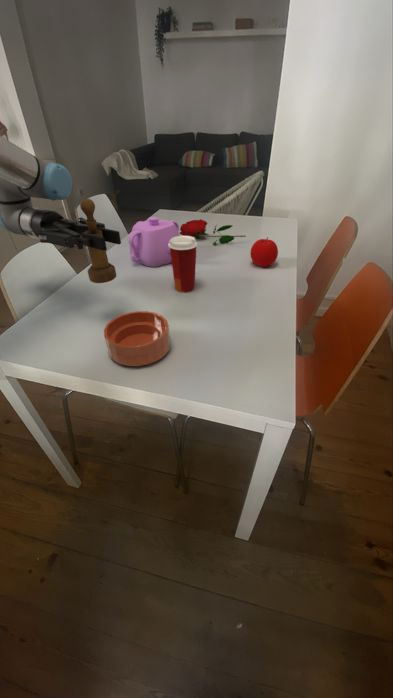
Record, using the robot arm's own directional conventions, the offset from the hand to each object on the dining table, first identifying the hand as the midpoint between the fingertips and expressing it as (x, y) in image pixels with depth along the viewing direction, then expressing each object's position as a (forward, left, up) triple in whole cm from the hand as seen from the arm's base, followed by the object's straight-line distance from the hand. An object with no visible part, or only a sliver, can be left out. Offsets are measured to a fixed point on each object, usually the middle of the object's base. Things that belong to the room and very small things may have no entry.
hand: (111, 240), depth 70 cm
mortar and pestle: (-5, +3, -10) cm, 12 cm away
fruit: (+40, +38, -22) cm, 59 cm away
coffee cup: (+14, +20, -22) cm, 33 cm away
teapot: (+3, +43, -22) cm, 49 cm away
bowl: (+6, -11, -22) cm, 25 cm away
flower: (+22, +61, -22) cm, 69 cm away
